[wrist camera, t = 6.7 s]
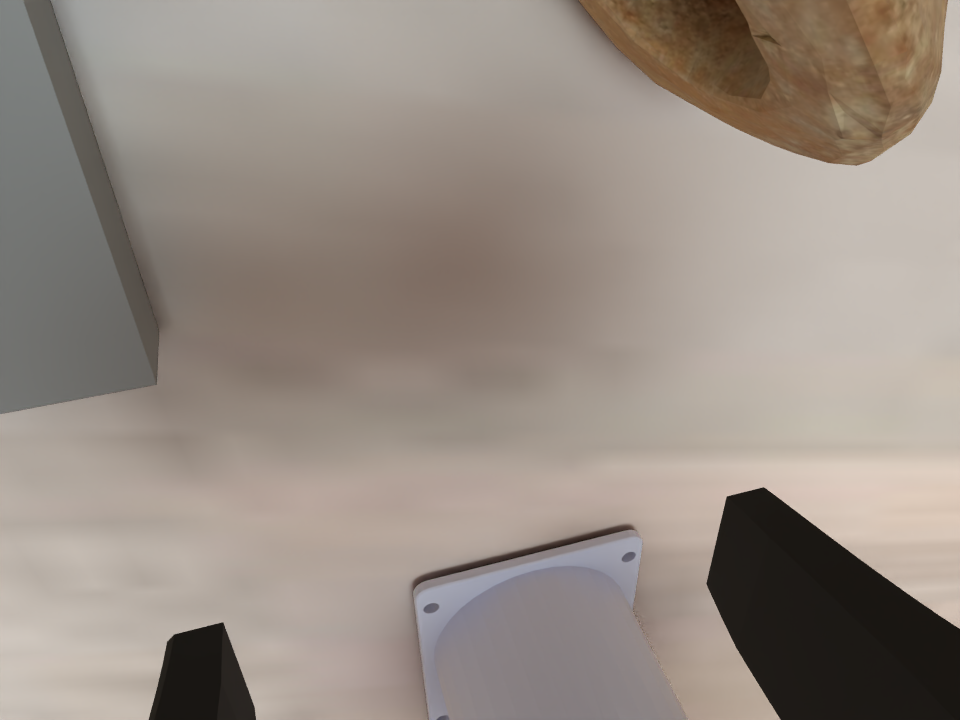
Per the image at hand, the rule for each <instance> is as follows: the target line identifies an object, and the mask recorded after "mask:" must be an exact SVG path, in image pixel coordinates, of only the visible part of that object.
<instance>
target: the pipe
mask: <svg viewBox="0 0 960 720" xmlns="http://www.w3.org/2000/svg"><path fill="white" fill-rule="evenodd" d="M579 1H580V3H581V4H582V5H583V7H584V8H585V9H586V10H587V12H588V13H589V14H590V15H591V17H592V18H593V19H594V20H595V21H596V23H597V24H598V25H599V26H600V28H601V29H602V30H603V31H604V32H605V34H606V35H607V36H608V37H609V39H610V40H611V41H612V42H613V44H614V45H615V46H616V47H617V48H618V49H619V50H620V51H621V52H622V53H623V54H624V55H625V56H626V57H628V58H629V59H630V60H631V61H632V62H633V63H634V64H635V65H636V66H637V67H638V68H639V69H641V70H642V71H643V72H644V73H645V74H646V75H647V76H648V77H649V78H650V79H651V80H652V81H654V82H655V83H656V84H658V85H659V86H661V87H663V88H665V89H666V90H668V91H670V92H672V93H673V94H675V95H677V96H679V97H680V98H682V99H684V100H686V101H687V102H689V103H691V104H693V105H694V106H696V107H698V108H700V109H701V110H703V111H705V112H707V113H709V114H710V115H712V116H714V117H716V118H717V119H719V120H721V121H723V122H725V123H727V124H729V125H731V126H733V127H735V128H736V129H738V130H740V131H743V132H745V133H747V134H749V135H752V136H754V137H756V138H758V139H761V140H763V141H765V142H767V143H770V144H772V145H774V146H777V147H780V148H782V149H785V150H788V151H791V152H793V153H796V154H800V155H803V156H807V157H810V158H813V159H817V160H820V161H824V162H827V163H834V164H845V165H856V166H857V165H860V164H863V163H866V162H869V161H872V160H873V159H874V158H876V157H877V156H879V155H880V154H882V153H883V152H885V151H886V150H888V149H889V148H891V147H892V146H893V145H895V144H896V143H898V142H899V141H901V140H902V139H904V138H905V137H907V136H908V135H910V134H911V133H912V131H913V130H914V128H915V127H916V125H917V124H918V122H919V121H920V119H921V118H922V116H923V115H924V113H925V112H926V110H927V109H928V107H929V106H930V104H931V103H932V100H933V97H934V93H935V90H936V87H937V84H938V80H939V77H940V74H941V67H942V53H943V39H944V26H945V18H946V10H947V2H948V0H579Z"/></svg>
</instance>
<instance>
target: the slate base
mask: <svg viewBox="0 0 960 720" xmlns="http://www.w3.org/2000/svg"><path fill="white" fill-rule="evenodd" d="M158 345H159V330H158V327H157V324H156V321H155V318H154V315H153V312H152V309H151V306H150V303H149V300H148V297H147V294H146V290H145V287H144V284H143V281H142V278H141V275H140V272H139V269H138V266H137V263H136V260H135V257H134V254H133V251H132V248H131V245H130V242H129V239H128V236H127V233H126V230H125V227H124V224H123V221H122V218H121V215H120V212H119V208H118V205H117V202H116V199H115V196H114V193H113V190H112V187H111V184H110V181H109V178H108V175H107V172H106V169H105V166H104V163H103V160H102V157H101V154H100V151H99V148H98V145H97V142H96V139H95V136H94V133H93V130H92V126H91V123H90V120H89V117H88V114H87V111H86V108H85V105H84V102H83V99H82V96H81V93H80V90H79V87H78V84H77V81H76V78H75V75H74V72H73V69H72V66H71V63H70V60H69V57H68V54H67V51H66V48H65V44H64V41H63V38H62V35H61V32H60V29H59V26H58V23H57V20H56V17H55V14H54V11H53V8H52V5H51V2H50V0H0V414H3V413H9V412H14V411H19V410H25V409H30V408H35V407H41V406H46V405H51V404H56V403H62V402H67V401H72V400H78V399H83V398H88V397H94V396H99V395H104V394H110V393H115V392H120V391H125V390H131V389H136V388H141V387H147V386H152V385H157V370H158Z"/></svg>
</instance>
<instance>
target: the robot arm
mask: <svg viewBox="0 0 960 720" xmlns="http://www.w3.org/2000/svg"><path fill="white" fill-rule="evenodd" d="M642 545H643V541H642V538H641V536H640V535H639V533H638V532H637V531H635V530H625V531H621V532H617V533H613V534H609V535H605V536H602V537H598V538H594V539H590V540H586V541H582V542H578V543H574V544H570V545H566V546H562V547H558V548H554V549H550V550H546V551H542V552H538V553H534V554H530V555H526V556H522V557H518V558H514V559H510V560H506V561H502V562H498V563H494V564H490V565H486V566H482V567H478V568H475V569H471V570H467V571H463V572H459V573H455V574H451V575H447V576H443V577H439V578H435V579H431V580H427V581H424V582H422V583H420V584H419V585H417V586H416V588H415V589H414V591H413V598H414V607H415V615H416V623H417V631H418V639H419V647H420V655H421V663H422V671H423V679H424V687H425V695H426V703H427V711H428V719H429V720H688V718H687V716H686V715H685V713H684V711H683V709H682V707H681V705H680V703H679V701H678V699H677V697H676V695H675V693H674V691H673V689H672V687H671V685H670V683H669V681H668V679H667V678H666V676H665V674H664V672H663V670H662V668H661V666H660V664H659V662H658V660H657V658H656V656H655V654H654V652H653V650H652V648H651V646H650V644H649V642H648V641H647V639H646V637H645V635H644V633H643V631H642V629H641V627H640V625H639V623H638V621H637V619H636V617H635V615H634V613H633V606H634V599H635V593H636V586H637V579H638V572H639V566H640V559H641V552H642ZM707 586H708V588H709V591H710V593H711V595H712V597H713V599H714V602H715V604H716V606H717V608H718V610H719V613H720V615H721V617H722V619H723V621H724V623H725V625H726V627H727V629H728V632H729V634H730V636H731V638H732V640H733V642H734V644H735V646H736V648H737V650H738V651H739V653H740V655H741V656H742V658H743V660H744V661H745V663H746V665H747V666H748V668H749V669H750V671H751V673H752V674H753V676H754V677H755V679H756V681H757V682H758V684H759V686H760V687H761V689H762V690H763V692H764V694H765V695H766V697H767V698H768V700H769V702H770V703H771V705H772V706H773V708H774V710H775V711H776V713H777V714H778V716H779V718H780V719H781V720H960V629H959V628H957V627H956V626H954V625H953V624H951V623H950V622H948V621H947V620H945V619H943V618H942V617H941V616H939V615H938V614H936V613H935V612H933V611H932V610H930V609H929V608H927V607H926V606H924V605H923V604H921V603H920V602H919V601H917V600H916V599H914V598H913V597H911V596H910V595H909V594H907V593H906V592H904V591H903V590H902V589H900V588H899V587H897V586H896V585H895V584H893V583H892V582H890V581H889V580H888V579H886V578H885V577H883V576H882V575H880V574H879V573H878V572H876V571H875V570H874V569H872V568H871V567H869V566H868V565H867V564H865V563H864V562H863V561H861V560H860V559H859V558H857V557H856V556H854V555H853V554H852V553H850V552H849V551H848V550H846V549H845V548H844V547H842V546H841V545H840V544H838V543H837V542H836V541H834V540H833V539H832V538H830V537H829V536H828V535H826V534H825V533H824V532H822V531H821V530H820V529H819V528H817V527H816V526H815V525H813V524H812V523H811V522H809V521H808V520H807V519H805V518H804V517H803V516H801V515H800V514H799V513H797V512H796V511H795V510H793V509H792V508H791V507H790V506H788V505H787V504H786V503H784V502H783V501H782V500H780V499H779V498H778V497H776V496H775V495H774V494H772V493H771V492H769V491H768V490H767V489H765V488H764V487H763V488H759V489H755V490H751V491H747V492H743V493H739V494H735V495H731V496H727V498H726V502H725V507H724V511H723V515H722V519H721V524H720V528H719V532H718V537H717V541H716V545H715V550H714V554H713V558H712V562H711V567H710V571H709V575H708V580H707ZM149 720H256V716H255V708H254V705H253V702H252V699H251V696H250V694H249V691H248V688H247V686H246V683H245V680H244V677H243V675H242V672H241V669H240V667H239V664H238V661H237V658H236V656H235V653H234V650H233V648H232V645H231V642H230V640H229V637H228V634H227V631H226V629H225V626H224V623H219V624H215V625H211V626H207V627H203V628H199V629H195V630H191V631H187V632H183V633H179V634H175V635H173V637H172V638H171V639H170V640H169V641H168V642H167V646H166V651H165V656H164V661H163V666H162V670H161V674H160V678H159V682H158V687H157V691H156V694H155V698H154V702H153V706H152V709H151V713H150V717H149Z"/></svg>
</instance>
